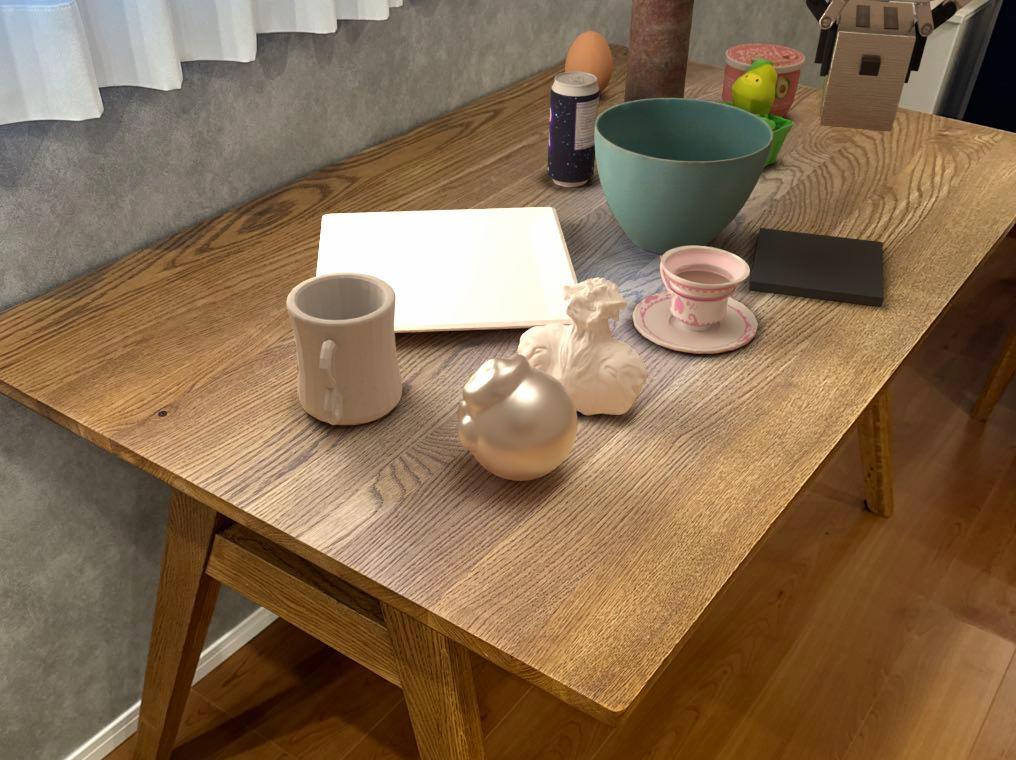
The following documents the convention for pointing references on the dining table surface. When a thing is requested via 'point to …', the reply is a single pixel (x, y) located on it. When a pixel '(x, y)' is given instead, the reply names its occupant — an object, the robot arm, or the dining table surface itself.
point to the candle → (658, 49)
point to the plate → (457, 265)
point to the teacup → (697, 303)
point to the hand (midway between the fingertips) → (863, 73)
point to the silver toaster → (868, 65)
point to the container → (784, 65)
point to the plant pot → (678, 167)
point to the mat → (818, 267)
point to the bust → (588, 351)
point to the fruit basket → (761, 101)
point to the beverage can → (572, 128)
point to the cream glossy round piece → (516, 419)
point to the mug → (345, 347)
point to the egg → (591, 57)
